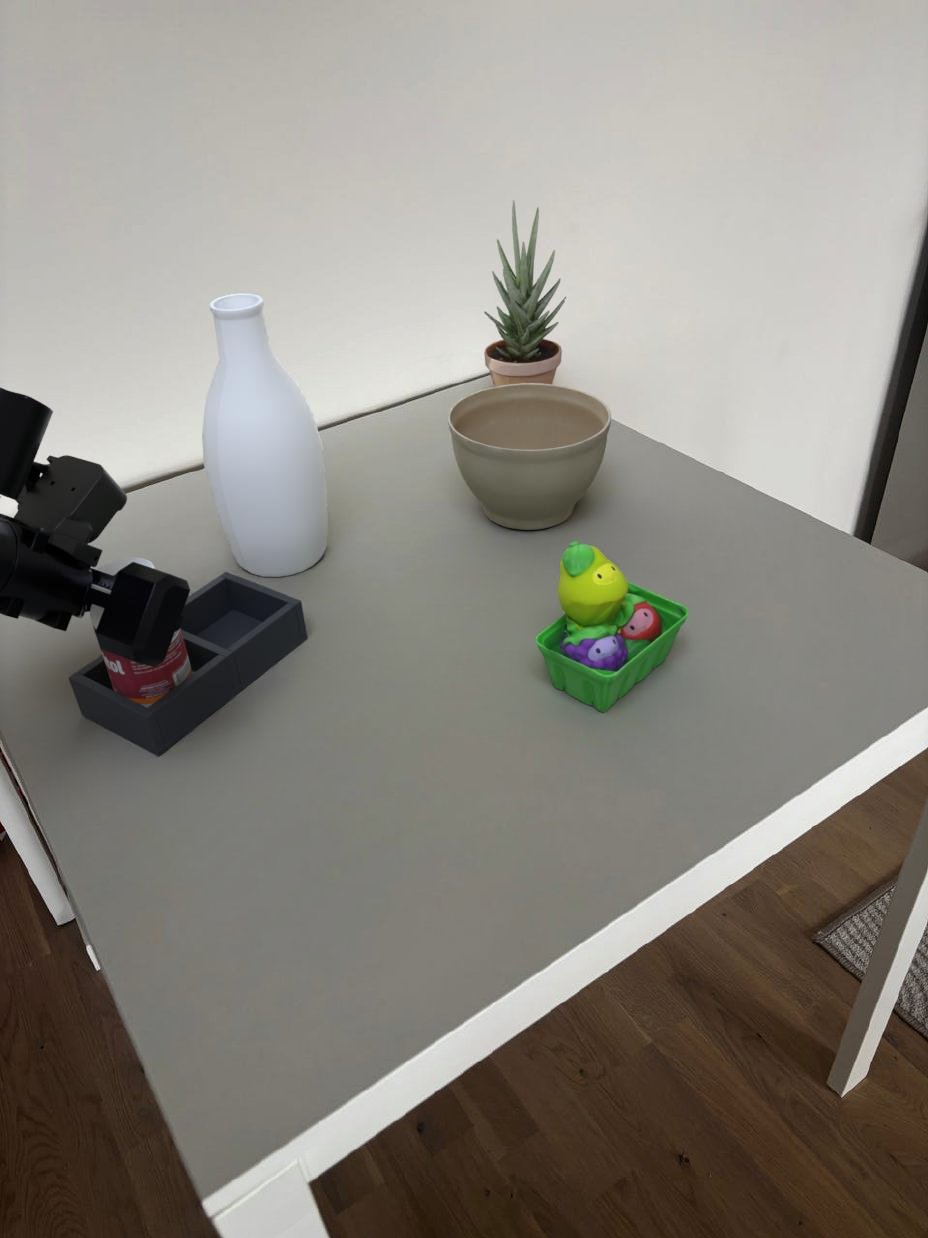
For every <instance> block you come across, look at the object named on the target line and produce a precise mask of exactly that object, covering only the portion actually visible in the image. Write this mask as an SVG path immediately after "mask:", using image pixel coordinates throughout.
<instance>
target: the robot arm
mask: <svg viewBox="0 0 928 1238" xmlns="http://www.w3.org/2000/svg"><path fill="white" fill-rule="evenodd" d="M53 414H54V410H53V409H52V408H50V407H49V406H47V404H45V403H43V402H41V401H39V400H37V399H35V398H33V397H31V396H29V395H26V394H22V393H20V392H15V391H11V390H8V389H5V388H3V387H0V498H1V497H2V496H3V497H6V498H8V499H10V500H14V501H15V502H16V503H17V507H16V508H17V512H16V513H15V515H14V517H12V516H9V515H7V514H3V513H0V615H2V616H5V617H8V618H9V617H10V618H14V619H17V620H18V619H19V618H20V617H21V618H22V617H23V618H25V619H29V620H33V621H35V622H38V623H39V624H43V625H45V626H48V627H50V628H53V629H55V630H59V631H63V632H67V630H68V628H69V625H70V622H71V620H72V617H75V618H78V619H82V618H84V616H85V614H86V613H90V609H91V606H92V604H94V605H97V606H99V607H102V608H104V611H103V613H102V616H101V619H100V621H99V624H98V627H97V629H96V632H95V631H94V634H95V637H96V640H97V643H98V646H99V649H100V648H101V649H103V650H106V651H108V652H111V653H113V654H116V655H118V656H121V657H123V658H126V659H128V660H131V661H133V662H136V663H140V664H144V665H148V666H152V667H156V666H157V665H159V664H161V663H162V662H164V660H165V657H166V654H167V652H168V649H169V646H170V644H171V641H172V638H173V636H174V633H175V632H176V631H178V630H179V629H180V627H181V624H182V622H183V616H181V614H182V612H183V609H184V606H185V604H186V601H187V598H188V597H189V596H190V593H191V588H190V585H189V582H188V580H186V579H184V578H181V577H179V576H176V575H174V574H171V573H168V572H165V571H162V570H160V569H156V568H155V569H154V568H151V567H148V566H145V565H142V564H139V563H136V562H132V563H130V564H129V565H127V566H125V567H124V568H122V569H121V570H119V571H118V572H117V573H116V574H115V575H110V574H107V573H104V572H101V571H98V570H96V569H97V568H96V567H97V566H98V563H99V562H100V558H101V556H102V553H103V549H101V548H99V547H95V546H93V545H91V543H93V542H94V541H96V540H97V539H98V538H99V537H100V536H101V534H102V533H103V532H104V530H105V529H106V528H107V526H108V525H109V524H110V522H111V521H112V520H113V518H114V516H115V515H116V514H117V513H118V512H119V511H120V512H121V511H122V510H123V509H124V507H125V506H126V504H127V501H128V496H127V494H126V492H124V491H125V490H123V489H122V488H121V486H120V485H119V484H118V483H117V482H116V480H115V479H113V477H112V476H111V475H110V474H109V472H108V470H106V469H105V468H104V467H103V466H102V465H101V464H100V463H97V462H93V461H91V460H90V461H89V460H87V459H86V460H85V459H83V458H79V457H76V456H72V455H67V454H65V455H61V456H58V457H57V456H54V455H48V457H46V461H47V462H48V463H47V464H46V463H41V462H38V461H35V459H36V457H37V454H38V452H39V449H40V446H41V445H42V441H43V439H44V436H45V434H46V432H47V429H48V426H49V424H50V421H51V419H52V416H53ZM92 584H94V585H97V586H100V587H102V588H105V589H108V590H111V592H110V594H109V593H106V592H103V591H100V590H97V589H95V588H92V587H91V586H92ZM101 649H100V650H101Z"/></svg>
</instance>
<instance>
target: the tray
mask: <svg viewBox="0 0 928 1238" xmlns="http://www.w3.org/2000/svg"><path fill="white" fill-rule="evenodd" d="M181 616H183V622H182V624H181V631H182V635H183V638H184V642H185V646H186V650H187V654H188V658H189V661H190V665H191V669H192V675H191V676H190V677H188V678H187V679H186V680H184V681H183V682H182V683H180V684H179V685H177V686H176V687H175V688H173V689H172V690H171V691H169V692H168V693H167V694H165V695H164V696H163V697H161V698H160V699H159V700H157V701H156V702H155V703H153V704H152V705H151V706H149V707H148V708H146V707H144V706H142V705H140V704H138V703H136V702H134V701H132V700H130V699H129V698H127V697H125V696H123V695H121V694H119V693H117V692H115V691H114V690H113V686H112V683H111V680H110V677H109V673H108V670H107V667H106V664H105V661H104V658H103V655H102V654H100V655H99V656H98V657H97V658H95V659H93V660H92V661H91V662H89V663H88V664H86V665H85V666H83V667H82V668H80V669H78V670H77V671H76V672H74V673H73V674H71V675H69V676H68V681H69V683H70V686H71V689H72V692H73V695H74V697H75V700H76V703H77V705H78V708H79V710H80V714H81V716H82V717H83V718H86V719H87V720H89V721H91V722H93V723H95V724H97V725H98V726H100V727H103V728H104V729H106V730H107V731H110V732H111V733H113V734H115V735H117V736H119V737H121V738H122V739H125V740H126V741H129V742H130V743H132V744H134V745H136V746H137V747H140V748H142V749H143V750H145V751H147V752H149V753H151V754H153V755H154V756H157V757H160V756H162V755H163V754H165V752H167V751H168V750H170V749H171V748H172V747H173V746H175V744H177V743H178V742H179V741H181V740H182V739H183V738H185V736H187V735H188V734H189V733H191V732H192V731H193V730H194V729H196V728H197V727H199V725H201V724H202V723H204V721H206V720H208V718H209V717H211V716H212V715H214V714H215V713H216V712H217V711H218V710H220V709H221V708H222V707H223V706H225V705H226V704H227V703H228V702H230V701H231V700H232V699H234V698H235V697H236V696H237V695H238V694H240V693H241V692H242V691H244V690H245V689H246V688H247V687H248V686H250V685H251V684H252V683H254V681H256V680H257V679H259V678H260V677H261V676H262V675H263V674H265V673H266V672H267V671H268V670H270V669H272V667H273V666H275V665H276V664H277V663H279V662H280V661H281V660H282V659H284V658H285V657H286V656H287V655H288V654H290V653H291V652H292V651H293V650H295V649H296V648H297V647H298V646H300V645H301V644H302V643H303V642H305V641H306V640H307V639H308V633H307V632H308V631H307V627H306V621H305V613H304V608H303V604H302V600H300V599H298V598H295V597H292V596H290V595H287V594H286V593H285V594H284V593H282V592H279V591H277V590H275V589H272V588H269V587H268V586H267V587H266V586H265V585H262V584H259V583H256V582H254V581H251V580H248V579H246V578H243V577H240V576H238V575H235V574H234V573H230V572H228V571H225V572H224V571H223V573H221V574H220V575H218V576H217V577H215V578H213V579H211V581H210V582H208V583H206V584H204V586H202V587H200V588H199V589H197V590H196V591H194V592H193V593H191V594H189V596H188V598H187V601H186V604H185V606H184V609H183V612H182V614H181Z"/></svg>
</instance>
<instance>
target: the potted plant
mask: <svg viewBox="0 0 928 1238" xmlns="http://www.w3.org/2000/svg"><path fill="white" fill-rule="evenodd" d="M515 205H516V203H515V199H513V200H512V207H511V231H512V240H513V241H512V242H513V243H512V245H513V254H514V267H515V269H514V270H515V272H514V270H513V269H512V267H511V265H510V263H509V261H508V259H507V257H506V254H505V252H504V249H503V247H502V245H501V243H500V240H499V238H496V243H497V250H498V254H499V257H500V260H501V264H502V267H503V268H502V277H503V281H504V283H505V286H504V284H503V282H502V280H499V278H498V276H497V275H496V273H495V272H494V271H493V270H492V273H491V274H492V277H493V280H494V283H495V285H496V288H497V291H498V293H499V295H500V297H501V299H502V301H503V303H504V305H505V307H506V309H507V311H508V314H507V313H505V312H504V311H503V310H502V309H501V308H500V307H499V306H498V305H497V306H496V310H497V314H498V317H499V319H500V321H499V320H497V319H496V318H495V317H493V316H492V315H491V314H489V313H488V312H487V311H483V312H484V314H485V315H486V316H487V317H488V319H489V320H491V321H492V322H493V323H494V324H495V327H496V329H497V332H498V334H499V335H500V338H501V339H500V340H497V341H494V342H492V343H490V344H489V345H487V346H486V348H485V349H484V353H483V355H484V365H485V367H486V368H487V370H489V374H490V376H491V380H492V383H493V387H497V386H503V385H510V384H522V383H538V384H552V385H553V383H554V379H555V376H556V372H557V369H558V367H559V366H560V365H561V363H562V354H563V350H562V346H561V345H560V344H559V343H557V342H556V341H553V340H550V339H546V338H545V337H547V336H548V335H549V334H550V333H551V332H552V331H553V330H554V329H555V328H556V327H557V326H558V325H559V321H557V322H555V323H553V324H552V325H550V326H548V325H549V324H550V323H551V321H552V320H553V319H554V318H555V317H556V315H557V314H558V313H559V311H560V309H561V308H562V307H563V306H564V304H565V300H566V299H567V296H565V297H564V298H563V299H562V300H561V301H560V302H559V304H558V305H557V306H556V307H555V308H554V310H553V311H552V312H551V313H550V311H551V310H547V311H546V312H545V313H544V314H543V312H544V311H545V309H546V308H547V306H548V305H549V303H550V301H551V299H553V297H554V295H555V294H556V291H557V290H558V288H559V285H560V283H561V278H560V277H559V279H557V281H556V282H555V284H553V286H552V287H551V288H550V289H549V290H548V291H547V292H546V293H545V295H544V296H543V297H542V298H540V297H541V294H542V292H543V290H544V287H545V285H546V283H547V281H548V278H549V276H550V273H551V271H552V268H553V264H554V261H555V255H556V249H553V250H552V253H551V255H550V257H549V258H548V261H547V263H546V265H545V267H544V269H543V270H542V272H541V274H540V275H539V277H538V278H537V279H536V282H535V283H534V273H535V272H534V269H535V257H536V256H535V255H536V247H537V246H536V245H537V239H538V229H539V217H540V208H539V207H540V206H537V207H536V210H535V215H534V219H533V223H532V227H531V230H530V232H531V233H530V237H529V242H528V246H527V250H526V245H525V241H522V243H521V251H520V241H519V234H518V224H517V215H516V212H517V211H516V206H515ZM505 287H506V288H505ZM547 326H548V327H547Z"/></svg>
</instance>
